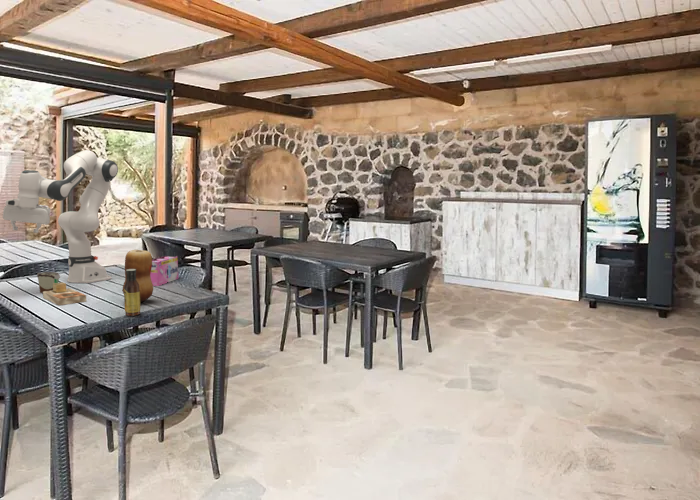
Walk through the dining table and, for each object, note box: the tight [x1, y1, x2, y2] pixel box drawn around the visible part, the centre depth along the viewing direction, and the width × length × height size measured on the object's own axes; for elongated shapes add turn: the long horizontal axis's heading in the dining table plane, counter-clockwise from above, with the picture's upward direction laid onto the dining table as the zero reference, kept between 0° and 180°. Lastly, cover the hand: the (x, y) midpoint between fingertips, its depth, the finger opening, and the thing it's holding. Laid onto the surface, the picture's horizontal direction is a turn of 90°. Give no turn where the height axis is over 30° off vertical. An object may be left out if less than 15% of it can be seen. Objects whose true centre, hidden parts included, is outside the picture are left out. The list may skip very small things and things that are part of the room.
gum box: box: [150, 255, 180, 287], centre depth 293 cm, size 24×8×14 cm, turn 170°
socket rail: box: [42, 287, 87, 306], centre depth 246 cm, size 12×21×3 cm, turn 47°
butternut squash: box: [122, 249, 154, 303], centre depth 243 cm, size 14×13×25 cm
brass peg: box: [53, 281, 67, 293], centre depth 250 cm, size 4×4×7 cm
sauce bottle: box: [123, 269, 141, 317], centre depth 221 cm, size 7×6×20 cm
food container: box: [36, 271, 61, 294], centre depth 260 cm, size 12×6×10 cm, turn 71°
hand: (25, 231), depth 252 cm, fingers open, 8 cm apart
